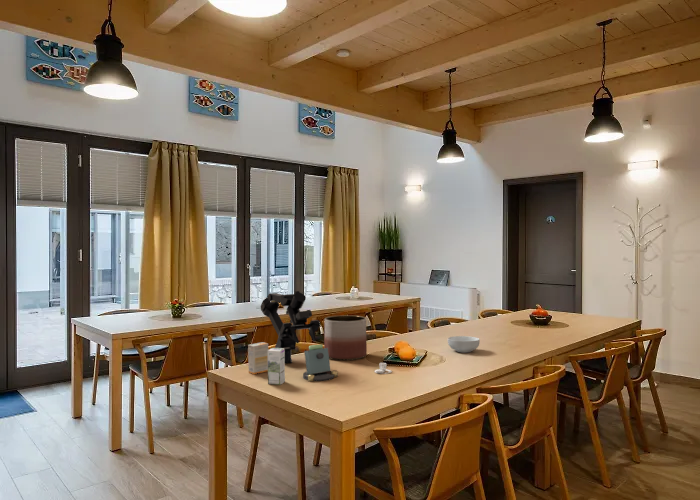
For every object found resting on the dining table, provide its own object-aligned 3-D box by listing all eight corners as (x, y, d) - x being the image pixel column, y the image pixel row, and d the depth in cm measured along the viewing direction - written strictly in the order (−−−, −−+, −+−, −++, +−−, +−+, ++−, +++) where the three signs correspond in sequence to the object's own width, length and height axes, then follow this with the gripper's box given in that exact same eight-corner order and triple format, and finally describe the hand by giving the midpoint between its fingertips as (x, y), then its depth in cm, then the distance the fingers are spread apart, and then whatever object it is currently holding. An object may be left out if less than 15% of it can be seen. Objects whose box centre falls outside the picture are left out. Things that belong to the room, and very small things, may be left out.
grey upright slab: (307, 374, 222) (303, 346, 224) (326, 370, 227) (323, 344, 230) (313, 373, 217) (309, 345, 220) (332, 370, 223) (329, 343, 225)
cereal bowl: (477, 348, 282) (477, 335, 282) (481, 354, 265) (481, 341, 265) (446, 347, 284) (446, 335, 284) (449, 354, 267) (449, 340, 267)
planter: (334, 363, 249) (333, 322, 249) (318, 354, 269) (318, 316, 269) (373, 358, 258) (373, 319, 258) (355, 350, 278) (355, 314, 278)
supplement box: (262, 369, 237) (262, 341, 236) (268, 371, 233) (268, 343, 233) (247, 372, 231) (247, 344, 231) (253, 374, 227) (253, 345, 227)
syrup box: (285, 381, 216) (285, 347, 216) (280, 385, 210) (280, 350, 210) (272, 380, 217) (272, 347, 217) (267, 384, 211) (267, 350, 211)
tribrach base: (295, 375, 226) (295, 369, 226) (323, 370, 234) (323, 365, 234) (312, 383, 213) (312, 377, 213) (341, 377, 221) (341, 372, 221)
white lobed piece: (379, 375, 226) (379, 366, 226) (369, 372, 233) (369, 363, 233) (395, 373, 231) (395, 364, 231) (384, 369, 237) (384, 360, 237)
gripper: (282, 305, 231) (293, 332, 222) (318, 303, 241) (330, 328, 232) (275, 321, 238) (286, 348, 229) (310, 317, 248) (322, 343, 239)
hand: (306, 341), depth 232 cm, fingers open, 8 cm apart
